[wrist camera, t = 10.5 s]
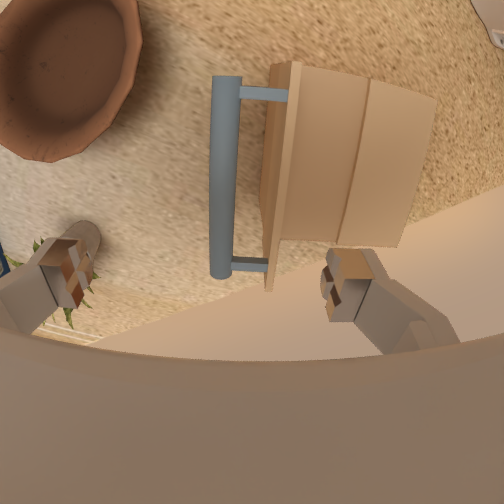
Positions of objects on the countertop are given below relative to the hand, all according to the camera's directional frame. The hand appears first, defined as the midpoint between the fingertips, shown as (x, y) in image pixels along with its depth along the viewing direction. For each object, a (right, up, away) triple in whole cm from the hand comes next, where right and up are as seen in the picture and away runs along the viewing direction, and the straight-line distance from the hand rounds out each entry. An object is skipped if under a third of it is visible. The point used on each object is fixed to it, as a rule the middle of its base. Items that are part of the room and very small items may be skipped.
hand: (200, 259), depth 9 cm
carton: (+11, +14, +26) cm, 31 cm away
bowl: (-19, +25, +17) cm, 35 cm away
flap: (+4, +6, +13) cm, 15 cm away
